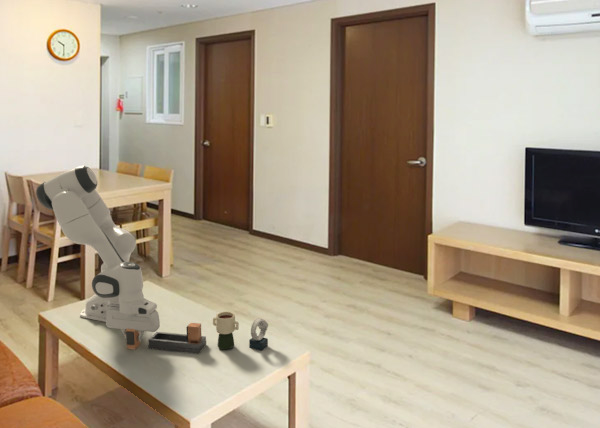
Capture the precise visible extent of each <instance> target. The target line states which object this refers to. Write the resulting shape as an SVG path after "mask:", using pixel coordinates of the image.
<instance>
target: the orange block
mask: <svg viewBox="0 0 600 428" xmlns="http://www.w3.org/2000/svg"><path fill="white" fill-rule="evenodd" d="M139 334H140V333H139V331H136V330H135V329H126V339H127V340H126V348H127V350H128V349H130V350H136V349H137V348H138V347H140V346H141V341H136V337H137V336H138V335H139Z"/></svg>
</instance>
